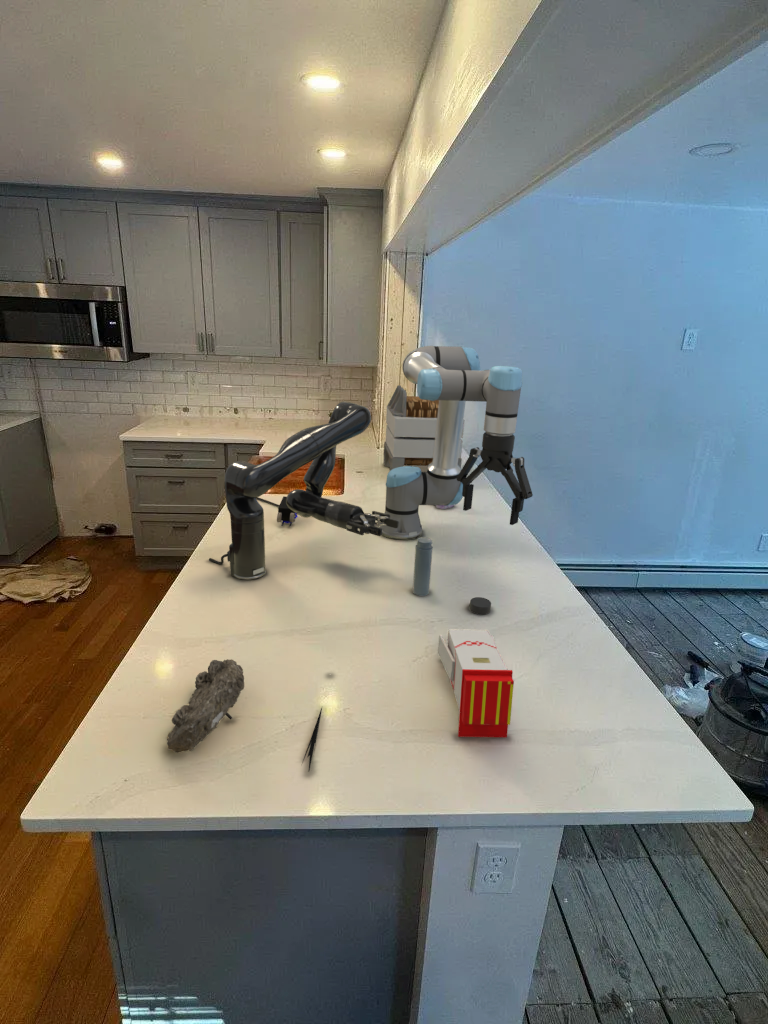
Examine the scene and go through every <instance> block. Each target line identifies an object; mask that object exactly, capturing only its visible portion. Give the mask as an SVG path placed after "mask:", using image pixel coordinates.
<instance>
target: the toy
mask: <svg viewBox="0 0 768 1024" xmlns="http://www.w3.org/2000/svg"><path fill="white" fill-rule="evenodd" d="M446 640H447V643H446V641H445V639H444V636H443V635H442V634H439V637H438V646H437V656H438V657H439V659H440V661H441V663H442V666H443V668H444V670H445V672H446V674H447V677H448V679H449V681H450V684H451V687H452V690H453V693H454V697H455V701H456V705H457V708H458V711H459V714H458V715H459V716H458V730H457V731H458V732H457V737H458V738H508V731H509V726H510V725H511V717H512V707H513V697H514V696H513V695H514V684H515V680H514V679H513V673H514V671H513V670H512V669H508V667H507V665H506V662H505V661H504V659H503V658H502V655H501V653H500V651H499V649H498V647H497V643H496V639H495V637H494V635H493V634H491V632H490V631H489V629H467V628H466V629H465V628H463V629H461V628H460V629H459V628H448V630H447V639H446Z"/></svg>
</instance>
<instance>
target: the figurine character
mask: <svg viewBox="0 0 768 1024" xmlns="http://www.w3.org/2000/svg"><path fill="white" fill-rule="evenodd" d="M286 498H287V496H285V495H284V496H283V497H282V498H281V501H280V503H279V504H278V505H279V507H278V506H277V514H276V515H277V516H276V523H281V524H280V526H281V527H284V525H285V524H289V526H288V527H292V525H293V523H295V521H296V519H297V518H298V517H299V515H298V514H297V513H295V512H294V511H292V510H291V509H290V508H289V507H288V506H287V503H286Z"/></svg>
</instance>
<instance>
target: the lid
mask: <svg viewBox="0 0 768 1024" xmlns="http://www.w3.org/2000/svg"><path fill="white" fill-rule="evenodd" d="M491 610H492V602H491V600H490V599H488V598H487V597H481V596H476V597H472V598H471V599H470V601H469V611H470V612H471V613H473V614H476V615H478V616H479V615H480V616H481V615H482V616H485V615H488V614H490V613H491Z"/></svg>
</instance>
